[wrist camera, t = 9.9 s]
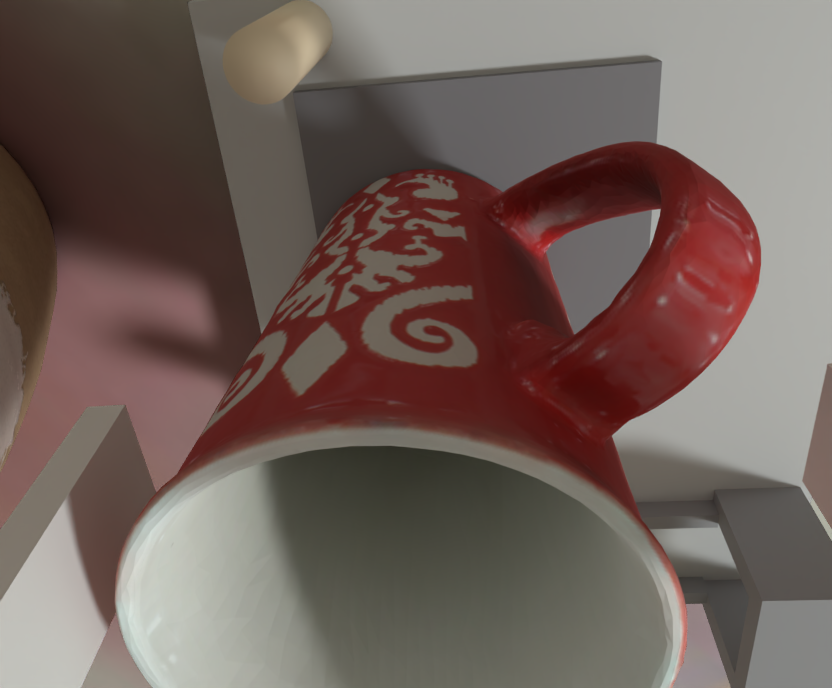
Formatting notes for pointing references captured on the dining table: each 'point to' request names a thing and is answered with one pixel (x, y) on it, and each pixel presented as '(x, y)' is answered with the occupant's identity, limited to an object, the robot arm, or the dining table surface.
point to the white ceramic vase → (22, 295)
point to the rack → (588, 228)
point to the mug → (444, 447)
